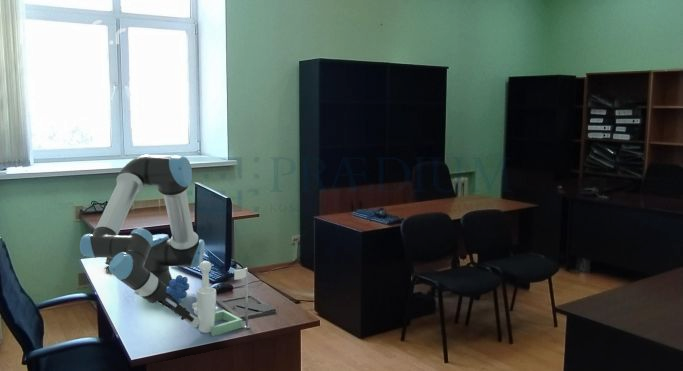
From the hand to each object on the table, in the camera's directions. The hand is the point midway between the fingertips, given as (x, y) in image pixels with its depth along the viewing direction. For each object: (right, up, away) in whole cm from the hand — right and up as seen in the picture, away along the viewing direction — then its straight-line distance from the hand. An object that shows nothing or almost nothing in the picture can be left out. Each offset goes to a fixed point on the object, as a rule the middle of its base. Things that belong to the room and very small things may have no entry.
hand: (196, 324), depth 203 cm
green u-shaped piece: (+6, -3, +7) cm, 10 cm away
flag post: (+15, -3, +6) cm, 16 cm away
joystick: (-3, -1, +21) cm, 21 cm away
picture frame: (+13, -1, +27) cm, 29 cm away
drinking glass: (+3, -3, +3) cm, 6 cm away
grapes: (-15, +1, +28) cm, 32 cm away
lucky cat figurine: (-55, +9, +76) cm, 94 cm away
